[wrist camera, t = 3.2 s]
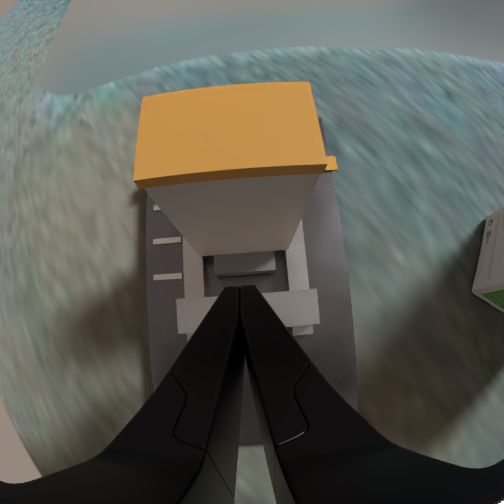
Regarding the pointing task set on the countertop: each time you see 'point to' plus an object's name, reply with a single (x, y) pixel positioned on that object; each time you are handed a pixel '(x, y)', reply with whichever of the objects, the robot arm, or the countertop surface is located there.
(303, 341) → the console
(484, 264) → the skincare box
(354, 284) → the countertop surface
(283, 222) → the fader
